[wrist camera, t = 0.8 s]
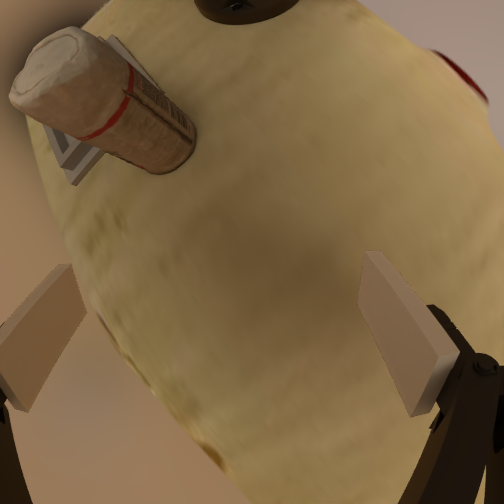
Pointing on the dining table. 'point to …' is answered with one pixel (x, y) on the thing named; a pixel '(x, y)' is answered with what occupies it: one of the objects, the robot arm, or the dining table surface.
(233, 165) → the dining table surface
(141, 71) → the holder dock
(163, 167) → the beige textured cylinder
